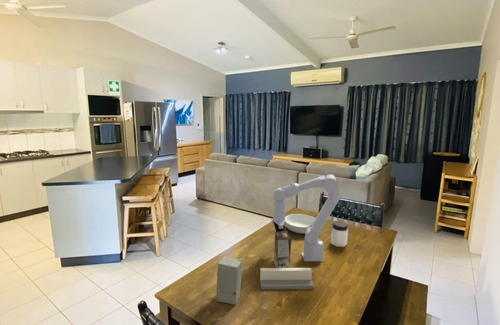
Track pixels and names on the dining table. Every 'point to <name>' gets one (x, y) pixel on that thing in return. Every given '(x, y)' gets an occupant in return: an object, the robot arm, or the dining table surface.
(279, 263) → the coffee box
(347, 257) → the dining table surface
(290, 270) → the board
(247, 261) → the dining table surface
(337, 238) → the jar
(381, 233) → the dining table surface
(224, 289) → the skincare box
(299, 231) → the serving bowl
